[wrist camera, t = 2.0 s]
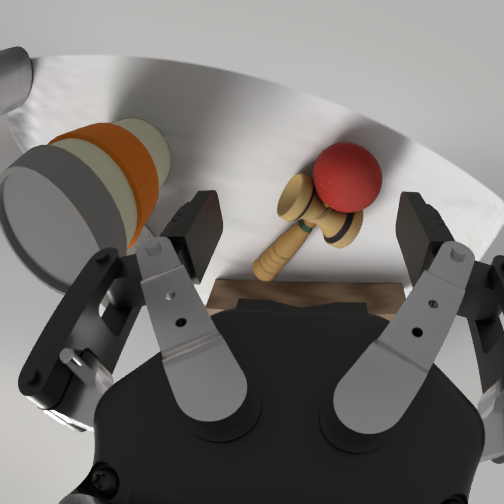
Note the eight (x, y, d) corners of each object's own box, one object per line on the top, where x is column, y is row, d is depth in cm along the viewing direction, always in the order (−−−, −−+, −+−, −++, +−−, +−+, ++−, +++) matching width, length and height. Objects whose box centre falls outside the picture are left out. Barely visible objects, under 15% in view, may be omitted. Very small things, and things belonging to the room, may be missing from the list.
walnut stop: (217, 286, 38) (207, 315, 35) (215, 279, 38) (205, 308, 34) (399, 290, 33) (406, 320, 30) (401, 282, 33) (409, 313, 29)
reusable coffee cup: (181, 218, 32) (119, 321, 21) (92, 193, 32) (16, 272, 20) (195, 111, 24) (98, 180, 13) (90, 97, 24) (-20, 153, 12)
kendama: (299, 270, 36) (402, 170, 23) (284, 307, 32) (406, 203, 19) (249, 234, 36) (336, 116, 23) (226, 268, 31) (324, 135, 18)
